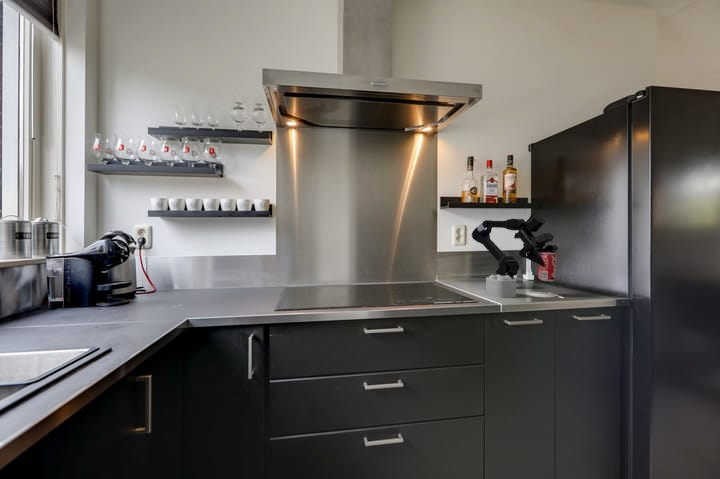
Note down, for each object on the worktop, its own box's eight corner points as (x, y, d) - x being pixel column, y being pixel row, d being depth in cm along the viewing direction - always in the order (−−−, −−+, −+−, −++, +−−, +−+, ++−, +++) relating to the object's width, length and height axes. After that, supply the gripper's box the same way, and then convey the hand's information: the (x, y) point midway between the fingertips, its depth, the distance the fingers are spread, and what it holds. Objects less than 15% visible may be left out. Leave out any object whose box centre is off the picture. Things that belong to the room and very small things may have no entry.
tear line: (547, 293, 143) (547, 292, 143) (549, 293, 143) (549, 292, 143) (562, 298, 131) (562, 297, 131) (564, 298, 131) (564, 297, 131)
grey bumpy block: (497, 298, 131) (498, 277, 131) (479, 292, 144) (480, 273, 144) (519, 297, 133) (519, 276, 133) (500, 292, 146) (500, 273, 146)
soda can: (555, 279, 139) (556, 252, 139) (557, 282, 133) (558, 253, 132) (536, 278, 142) (537, 252, 142) (538, 280, 136) (539, 253, 135)
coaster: (524, 295, 137) (524, 294, 137) (528, 292, 146) (528, 290, 146) (554, 298, 130) (554, 297, 130) (555, 294, 139) (556, 293, 139)
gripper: (525, 226, 137) (548, 253, 127) (555, 227, 144) (578, 253, 134) (510, 243, 144) (530, 270, 134) (538, 243, 151) (560, 269, 141)
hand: (550, 265), depth 136 cm, fingers closed on soda can, 7 cm apart
